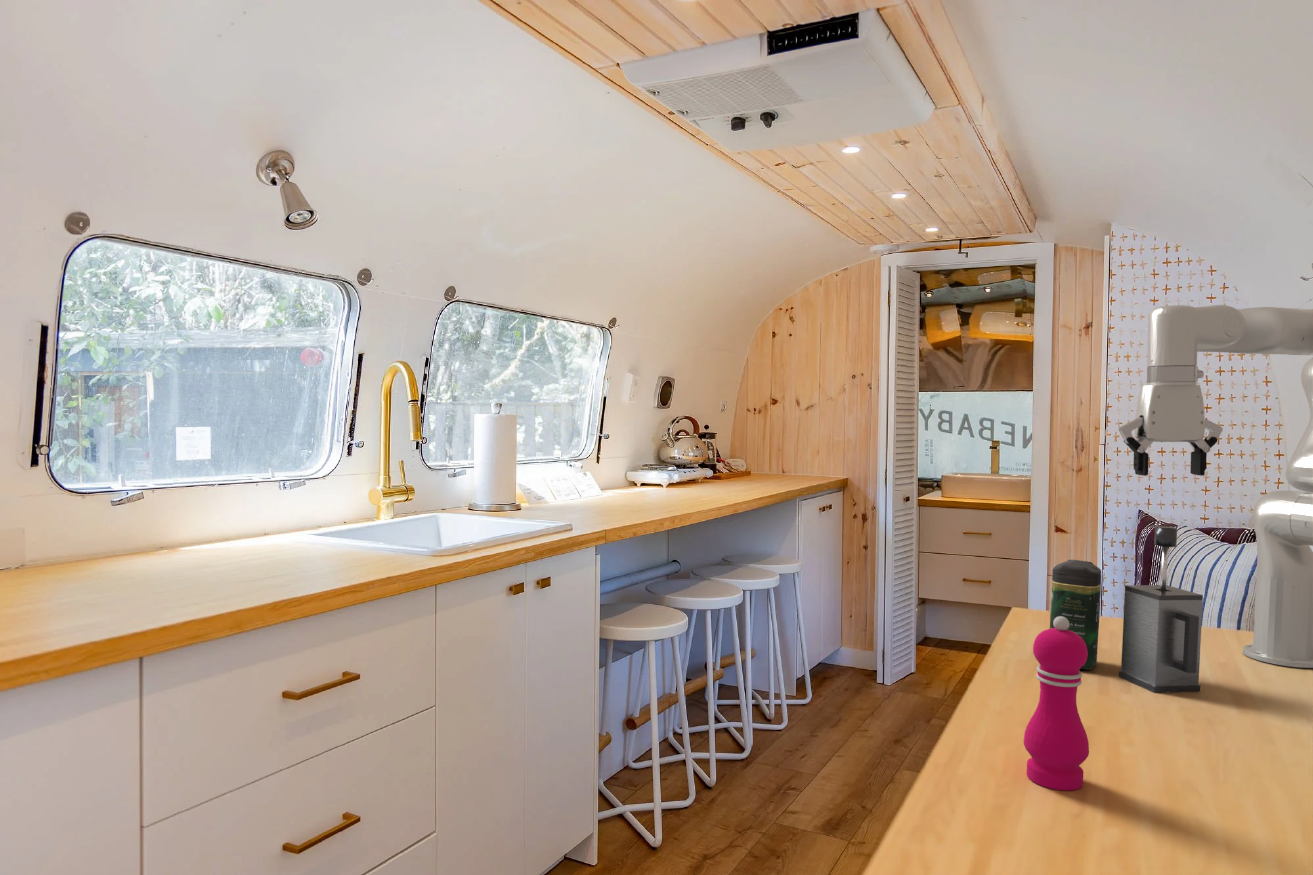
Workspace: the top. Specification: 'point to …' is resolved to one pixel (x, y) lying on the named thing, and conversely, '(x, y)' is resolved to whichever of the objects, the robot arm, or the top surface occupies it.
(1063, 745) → the pepper mill
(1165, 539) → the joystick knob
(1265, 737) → the top surface
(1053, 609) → the coffee jar
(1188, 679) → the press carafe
